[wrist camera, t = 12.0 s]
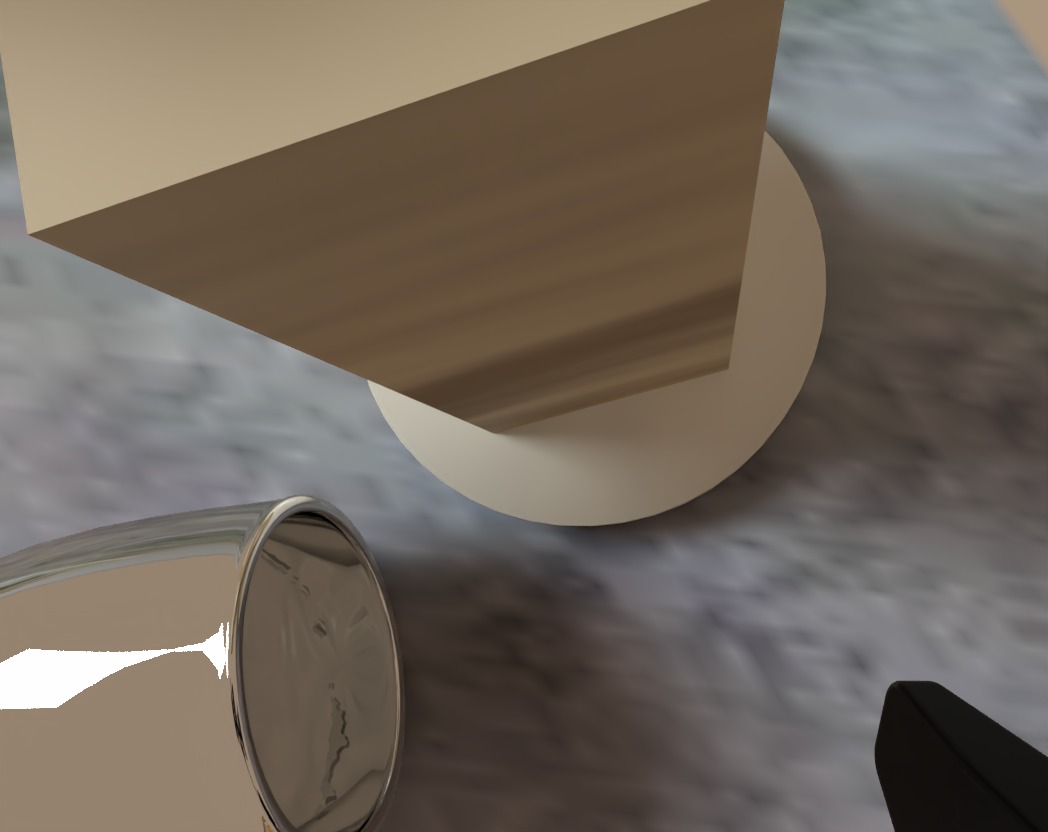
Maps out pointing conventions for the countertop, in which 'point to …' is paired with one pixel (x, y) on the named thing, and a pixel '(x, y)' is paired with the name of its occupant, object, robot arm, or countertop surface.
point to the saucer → (653, 398)
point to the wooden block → (413, 179)
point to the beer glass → (200, 676)
